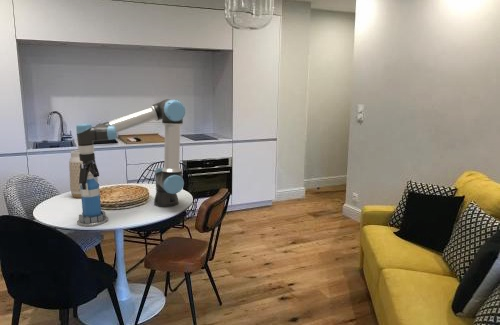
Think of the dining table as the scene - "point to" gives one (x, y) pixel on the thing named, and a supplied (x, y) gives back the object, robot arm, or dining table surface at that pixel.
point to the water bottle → (91, 198)
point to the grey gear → (92, 220)
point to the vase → (75, 173)
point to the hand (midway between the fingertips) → (91, 191)
